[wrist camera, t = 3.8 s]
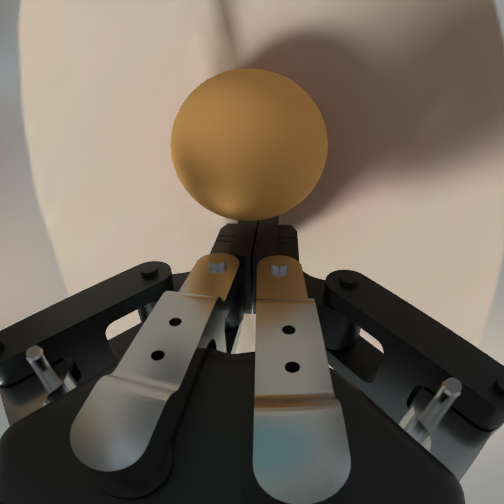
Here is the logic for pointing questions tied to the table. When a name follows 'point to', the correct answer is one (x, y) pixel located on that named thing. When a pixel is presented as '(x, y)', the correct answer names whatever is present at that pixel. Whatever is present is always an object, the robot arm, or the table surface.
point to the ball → (249, 144)
